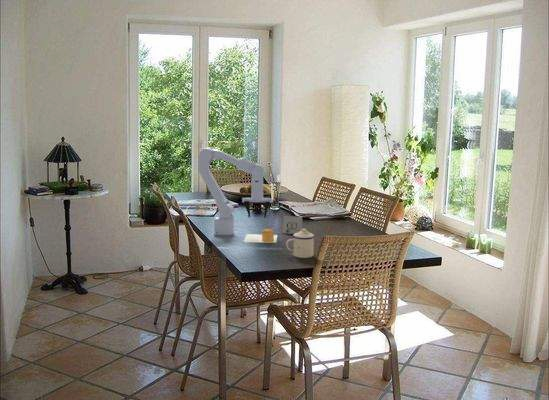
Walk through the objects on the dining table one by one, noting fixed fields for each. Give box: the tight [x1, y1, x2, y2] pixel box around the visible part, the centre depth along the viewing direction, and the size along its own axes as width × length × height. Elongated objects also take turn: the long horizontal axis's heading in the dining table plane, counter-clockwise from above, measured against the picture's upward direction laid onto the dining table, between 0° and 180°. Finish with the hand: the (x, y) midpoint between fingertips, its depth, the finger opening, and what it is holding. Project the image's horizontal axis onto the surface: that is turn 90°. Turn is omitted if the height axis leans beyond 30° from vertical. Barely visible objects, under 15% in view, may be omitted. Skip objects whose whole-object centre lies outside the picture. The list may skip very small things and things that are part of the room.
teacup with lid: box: [285, 228, 315, 259], centre depth 255 cm, size 12×9×12 cm
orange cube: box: [261, 228, 275, 242], centre depth 278 cm, size 5×5×5 cm
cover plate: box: [243, 233, 278, 244], centre depth 282 cm, size 15×16×4 cm
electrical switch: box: [282, 215, 303, 235], centre depth 295 cm, size 9×5×9 cm, turn 78°
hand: (257, 217), depth 290 cm, fingers open, 7 cm apart
